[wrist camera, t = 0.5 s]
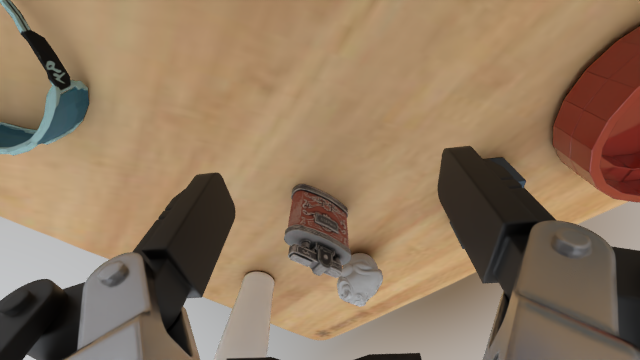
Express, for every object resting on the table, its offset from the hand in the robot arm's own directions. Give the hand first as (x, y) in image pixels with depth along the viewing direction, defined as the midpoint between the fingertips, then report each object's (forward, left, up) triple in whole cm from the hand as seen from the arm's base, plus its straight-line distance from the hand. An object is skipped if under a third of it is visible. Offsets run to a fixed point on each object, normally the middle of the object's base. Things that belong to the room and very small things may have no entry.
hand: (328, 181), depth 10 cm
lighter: (+17, -3, -18) cm, 25 cm away
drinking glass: (+33, -16, -18) cm, 41 cm away
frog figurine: (+29, +1, -18) cm, 34 cm away
